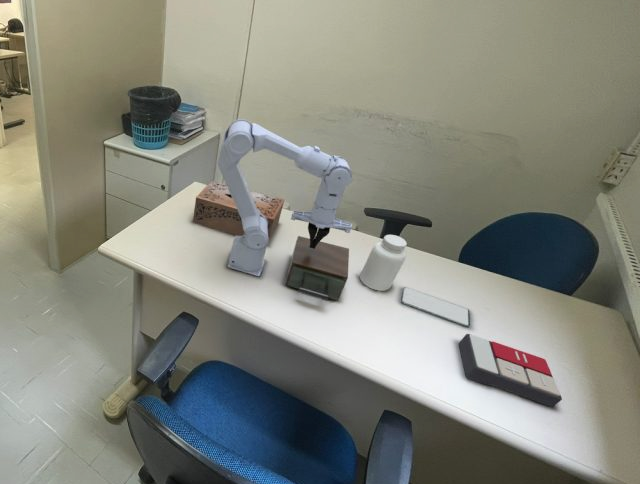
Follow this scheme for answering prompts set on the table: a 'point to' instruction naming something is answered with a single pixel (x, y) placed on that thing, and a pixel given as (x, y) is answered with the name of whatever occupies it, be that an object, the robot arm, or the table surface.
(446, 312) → the smartphone
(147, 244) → the table surface
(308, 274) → the drawer
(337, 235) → the table surface
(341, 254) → the cabinet
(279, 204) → the tissue box cover
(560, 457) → the table surface
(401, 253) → the pill bottle
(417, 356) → the table surface
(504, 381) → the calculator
